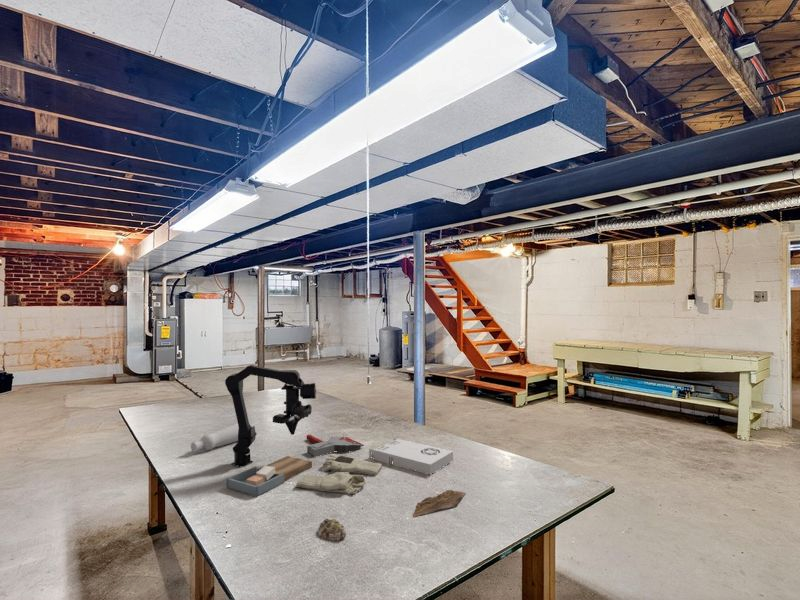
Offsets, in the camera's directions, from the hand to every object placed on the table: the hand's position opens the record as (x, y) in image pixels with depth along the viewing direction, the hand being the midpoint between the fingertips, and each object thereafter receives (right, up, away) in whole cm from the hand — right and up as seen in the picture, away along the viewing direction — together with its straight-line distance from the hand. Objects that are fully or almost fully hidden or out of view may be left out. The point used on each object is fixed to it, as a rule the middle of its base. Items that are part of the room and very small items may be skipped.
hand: (292, 434), depth 181 cm
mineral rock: (+28, -11, -59) cm, 66 cm away
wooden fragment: (+61, -11, -40) cm, 74 cm away
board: (0, -12, -11) cm, 16 cm away
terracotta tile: (-7, -11, -25) cm, 28 cm away
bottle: (-41, -13, +22) cm, 49 cm away
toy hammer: (+11, -13, +21) cm, 27 cm away
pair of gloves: (+24, -12, -18) cm, 33 cm away
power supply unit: (+53, -13, +1) cm, 54 cm away
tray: (-8, -11, -25) cm, 28 cm away
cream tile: (-5, -10, -21) cm, 23 cm away
